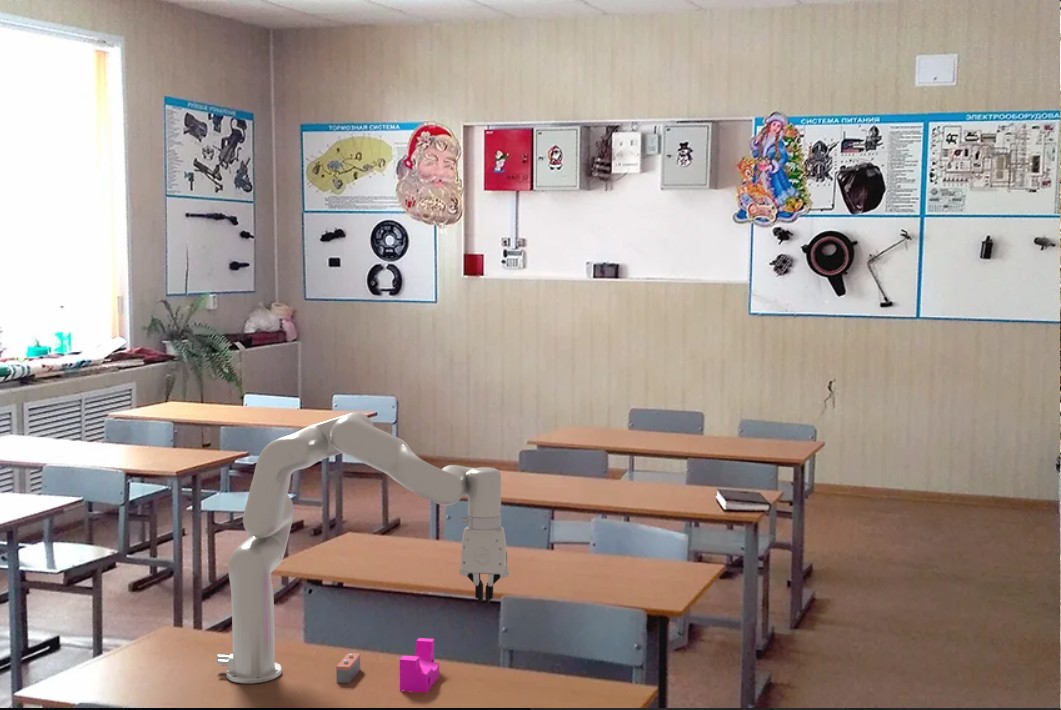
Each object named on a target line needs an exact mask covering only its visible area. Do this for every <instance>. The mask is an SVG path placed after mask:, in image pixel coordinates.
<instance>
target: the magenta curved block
mask: <svg viewBox="0 0 1061 710" xmlns="http://www.w3.org/2000/svg"><path fill="white" fill-rule="evenodd" d="M415 643H416V644H415V653H414V655H402V656H401V658H400V659H399V691H400V692H404V691H412V692H411V693H417V692H425V693H424V694H428V692H429V691H430V690H429V689H431V688H432V687H433V686H434V685H435V683H436V682H435V681H438V679H439V678H440V662H435V638H425V637H424V638H423V637H418V639H416V642H415ZM438 677H439V678H438ZM432 685H433V686H432ZM431 686H432V687H431ZM402 690H404V691H402ZM428 690H429V691H428ZM427 691H428V692H427Z"/></svg>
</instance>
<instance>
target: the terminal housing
mask: <svg viewBox="0 0 1061 710" xmlns="http://www.w3.org/2000/svg"><path fill="white" fill-rule="evenodd" d="M360 670H361V653H357V652H354V653H351V652H347V653H346V654H345V656H344V657H343V658H342V659H341V661H339V663H338V664H337V665H336V671H335V672H336V683H337V684H338V683H339V684H350V683H351V681H352V680H353V679H354V678H355V677H356V676H357V674H358V673H359V672H360Z"/></svg>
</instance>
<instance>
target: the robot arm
mask: <svg viewBox="0 0 1061 710" xmlns="http://www.w3.org/2000/svg"><path fill="white" fill-rule="evenodd" d="M340 454H344V455H345V456H348V457H349V458H352V459H354V460H356V461H358V462H361V463H362V464H365V465H367V466H370V467H371V468H373V469H375V470H378V471H380V472H382V473H384V474H385V475H387V476H389V477H390V478H391V479H392V480H393V481H395V482H396V483H398V484H399V485H401V486H402V487H404V488H405V489H407V490H408V491H410V492H412V493H414V494H416V495H418V496H420V497H421V498H424V499H426V500H428V501H431V502H433V503H435V504H437V505H442V506H452V505H455V504H456V503H458V502H459V501H460V500H461V499H462V497H467V515H464V516H461V523H464V524H466V527H465V528H463V533H462V541H461V553H460V568H459V572H458V574H459V575H461V576H462V577H465V578H468V580H470V581H471V582H472V583H473V585H474V586H475V587H474V588H475V590H474V591H475V594H474V595H475V599H477V603H478V604H481V603H482V602H483V601H484V600H485V604H490V602H491V600H493V598H494V585H495V584H496V583H497V582H498V581H499V580H500V579H503V578H508V577H509V576H510V575H511V573H510V570H509V567H508V552H507V551H508V549H507V541H506V540H507V539H506V534H505V528H504V527H503V526H502V475H501V472H500V471H499V469H497V468H495V467H489V466H486V467H485V466H483V467H469V466H464V465H458V464H450V465H446V466H444V467H443V468H442V469H441V468H439V467H437V466H435V465H432V464H431V463H428V462H427V461H425V460H424V459H422V458H420V457H419V456H418V455H416V453H415V452H414V451H412V449H411V448H410V445H409V444H408V443H407V442H406V441H404V440H403V439H401V438H399V437H397V436H395V435H393V434H391V433H390V432H386V430H382V429H380V428H378V427H376V426H374V424H373V422H372V420H371V418H369V416H367V415H366V414H364V413H361V412H350V413H347V414H343V415H341V416H338V417H335V418H332V419H329V420H326V421H323V422H319V423H316V424H312V425H309V426H306V427H304V428H301V429H300V430H298V431H295V432H293V433H291V434H289V435H285V436H282V437H280V438H277V439H275V440H272V441H270V443H268V444H267V445H265V446H264V448H263V449H262V451H261V452H260V454H259V456H258V458H257V461H256V464H255V467H254V473H253V477H252V481H251V484H250V487H249V492H248V496H247V500H246V504H245V507H244V508H245V509H244V511H243V515H242V524H243V529H245V531H246V533H247V534H248V536H247V539H246V540H245V541H243V542H242V543H240V544H239V545H238V546H237V547H236V548H235V549H234V550H233V552H232V553H231V555H230V557H229V561H228V565H227V573H228V579H229V584H230V591H231V592H230V593H231V594H230V595H231V619H232V621H231V622H232V624H231V627H232V631H231V632H232V633H231V634H232V653H230V655H228V654H221V653H220V654H217V656H216V662H217V666H218V667H219V666H220V667H222V666H223V667H224V666H225V667H227V669H226V671H225V674H226V678H227V680H228V681H231V682H232V683H233V682H234V683H237V684H238V683H239V684H251V685H252V684H258V683H265V682H270V681H272V680H275V679H276V678H278V677H279V676H281V674H282V672H283V671H282V669H283V668H282V665H281V664H279V663H278V662H276V661H275V658H276V657H275V656H276V655H275V653H276V651H275V649H276V648H275V646H276V645H275V604H274V602H275V600H274V599H275V598H274V597H275V595H274V588H273V583H272V573H273V571H274V570H276V569H277V568H278V567H279V565H280V564H281V563H282V561H283V559H284V556H285V553H286V549H287V546H288V545H287V544H288V540H289V537H290V532H291V529H292V528H291V527H292V525H293V520H294V515H295V514H294V513H295V511H294V508H295V507H294V504H293V503H294V502H293V500H292V499H291V497H290V496H289V495H288V492H289V489H290V485H291V478H292V477H291V476H292V474H293V473H294V472H296V471H298V470H304V469H307V468H310V467H312V466H313V465H315V464H316V463H318V462H320V461H323V460H325V459H328V458H330V457H335V456H337V455H340ZM481 575H488V577H487V581H486V582H487V583H486V584H485V599H484V583H483V581H482V576H481Z"/></svg>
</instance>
